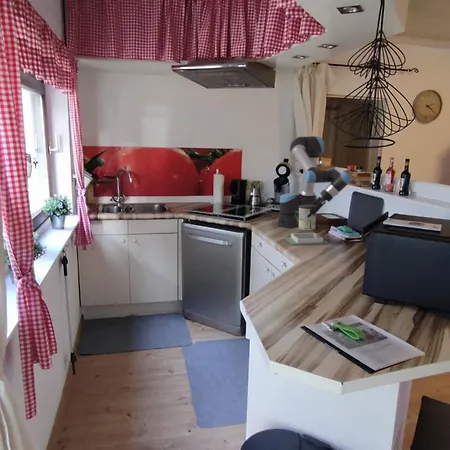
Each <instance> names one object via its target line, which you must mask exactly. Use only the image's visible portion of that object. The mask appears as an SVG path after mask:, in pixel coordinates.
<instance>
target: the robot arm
mask: <svg viewBox="0 0 450 450" xmlns="http://www.w3.org/2000/svg"><path fill="white" fill-rule="evenodd" d="M289 151H290V154H291V156H293V157H294V158H295V159H296V160H297V162H298V164H299V166H301V168H302V170H303V173H302V178H301V179H302V180H301V181H302V182H301V189H300V190H298V194H297V193H295V192H292V193H291V192H289V193H284V194H282V195H279V196H280V197H279V216H278V219H277V222H276V225H277V226H278V227H280V228H296V227H299V220H298V218H297V214H296V212H299V205H304V204H311V205H315V206H314V208H313V209H312V210H310V212H308V213H307V214H306V215H305V216H304V217H303V218H302V220H303V221H304V222H306V221H307V220H308V219H309V218H310V217H311V216H312V215H313V214H316V215H317V212H319V210H320V209H321V208H322V207H323V206H324V205H325V204H326V201H327V202H328V203H330V202H331V201H332V200H334V197H336V196H338V195H339V193H340V192H341V191H342V190H343V189H344V188H346V187H347V186H348V185H349V184H350V183H351V182H352V180H353V178H352V176H351V175H350V174H349V173H348V172H346V171H345V170H344V171H341V172H340V171H338V169H335V168H332V167H330V168H328V169H326V170H325V169H324V170H323V169H322V170H319V169H318V168H317V164H318V159H319V158H320V157H321V154H323V153H324V151H325V142H324V140H323V137H321V136H315V135H314V136H298V137H295V138H294V139H293V140H292V141H291V142H290V146H289ZM319 183H320V184H325V183H327V184H328V183H329V184H328V185H327V186H326V187H325V189H323V190H322V191H321V192H320V195H321V196H317V195H316V193H315V191H314V188H315V184H319Z"/></svg>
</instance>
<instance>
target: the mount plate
mask: <svg viewBox="0 0 450 450" xmlns="http://www.w3.org/2000/svg"><path fill="white" fill-rule="evenodd" d="M284 238H285V240H286V241H287V242H288V243H289V244H291V246H311V245H312V246H313V245H314V246H315V245H318V246H319V245H329V242H328V241H327V240H326V239H324V238H323V237H321V236H320V235H319V234H317V233H316V232H297V233H296V232H295V233H290V236H287V237H284Z"/></svg>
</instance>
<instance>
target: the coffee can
mask: <svg viewBox="0 0 450 450" xmlns="http://www.w3.org/2000/svg"><path fill="white" fill-rule="evenodd" d="M314 206H315V205H311V204H304V205H299V211H298V229H299V230H304V231H305V230H306V231H311V230H315V229H316V220H317V219H316V218H317V217H316V216H317V213H316V214H313V215H312V216H311V217H310V218H309V219H308V220H307V221H306V222H304V221H303V220H302V218H303V217H304V216H305V215H306V214H307V213H308V212H310V210H312V209H313V208H314Z"/></svg>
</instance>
